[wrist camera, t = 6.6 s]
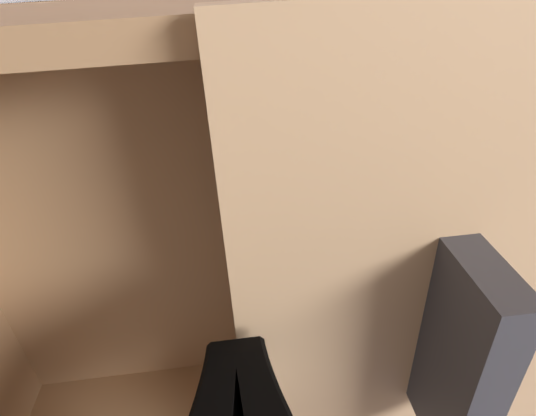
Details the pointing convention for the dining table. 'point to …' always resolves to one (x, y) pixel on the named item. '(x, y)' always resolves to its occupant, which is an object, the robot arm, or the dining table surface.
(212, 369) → the robot arm
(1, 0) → the dining table surface
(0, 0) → the dining table surface
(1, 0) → the dining table surface
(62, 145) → the carton
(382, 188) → the lid panel
